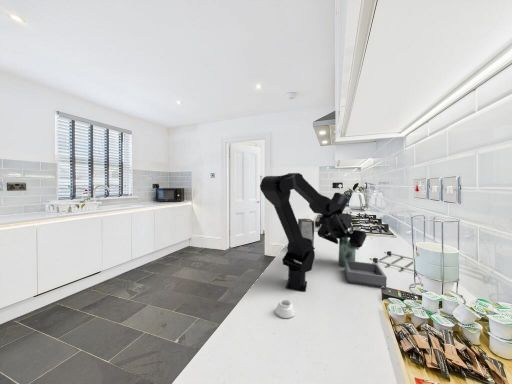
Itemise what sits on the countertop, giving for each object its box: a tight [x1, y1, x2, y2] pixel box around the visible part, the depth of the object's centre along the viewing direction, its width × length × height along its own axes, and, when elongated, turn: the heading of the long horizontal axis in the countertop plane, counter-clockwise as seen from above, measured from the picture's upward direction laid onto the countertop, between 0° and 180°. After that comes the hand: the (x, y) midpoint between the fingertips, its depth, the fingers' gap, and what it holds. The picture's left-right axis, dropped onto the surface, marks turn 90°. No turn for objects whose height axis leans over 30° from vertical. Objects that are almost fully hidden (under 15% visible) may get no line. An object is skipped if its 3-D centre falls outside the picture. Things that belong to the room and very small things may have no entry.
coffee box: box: [297, 218, 315, 248], centre depth 104 cm, size 9×6×16 cm
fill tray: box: [344, 260, 388, 289], centre depth 76 cm, size 12×12×4 cm
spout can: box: [338, 228, 357, 269], centre depth 88 cm, size 6×6×16 cm
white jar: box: [275, 299, 296, 319], centre depth 56 cm, size 5×3×5 cm
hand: (347, 246), depth 89 cm, fingers open, 9 cm apart
